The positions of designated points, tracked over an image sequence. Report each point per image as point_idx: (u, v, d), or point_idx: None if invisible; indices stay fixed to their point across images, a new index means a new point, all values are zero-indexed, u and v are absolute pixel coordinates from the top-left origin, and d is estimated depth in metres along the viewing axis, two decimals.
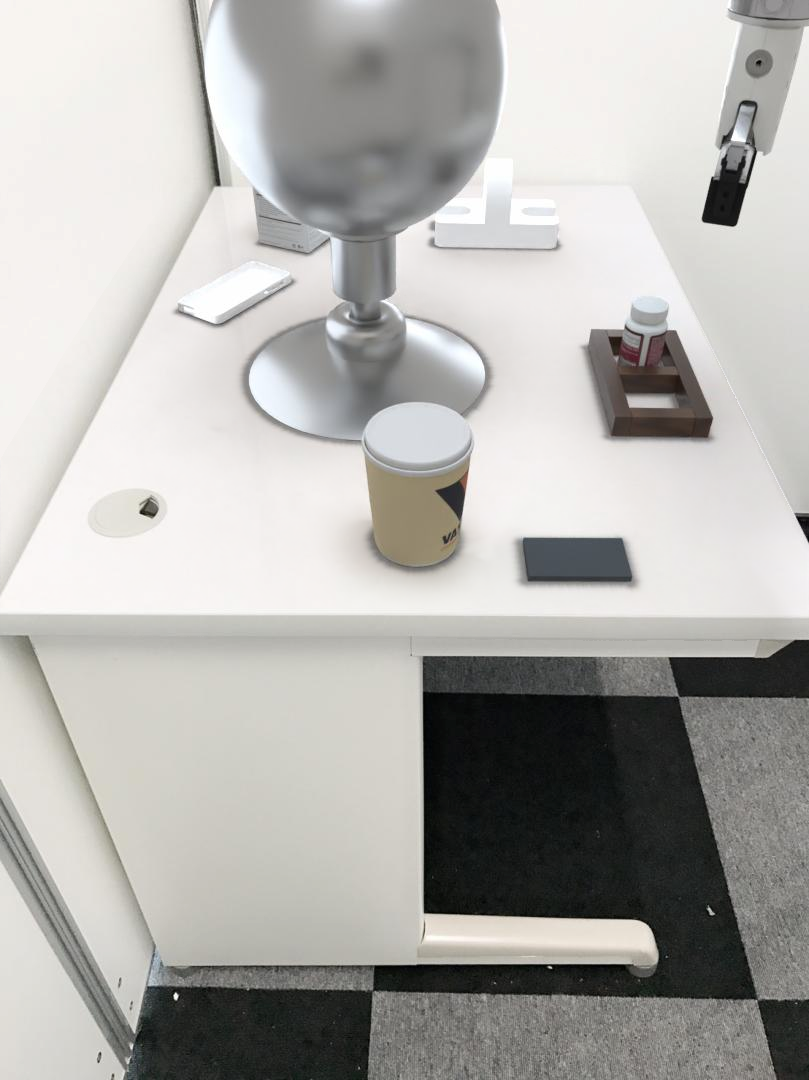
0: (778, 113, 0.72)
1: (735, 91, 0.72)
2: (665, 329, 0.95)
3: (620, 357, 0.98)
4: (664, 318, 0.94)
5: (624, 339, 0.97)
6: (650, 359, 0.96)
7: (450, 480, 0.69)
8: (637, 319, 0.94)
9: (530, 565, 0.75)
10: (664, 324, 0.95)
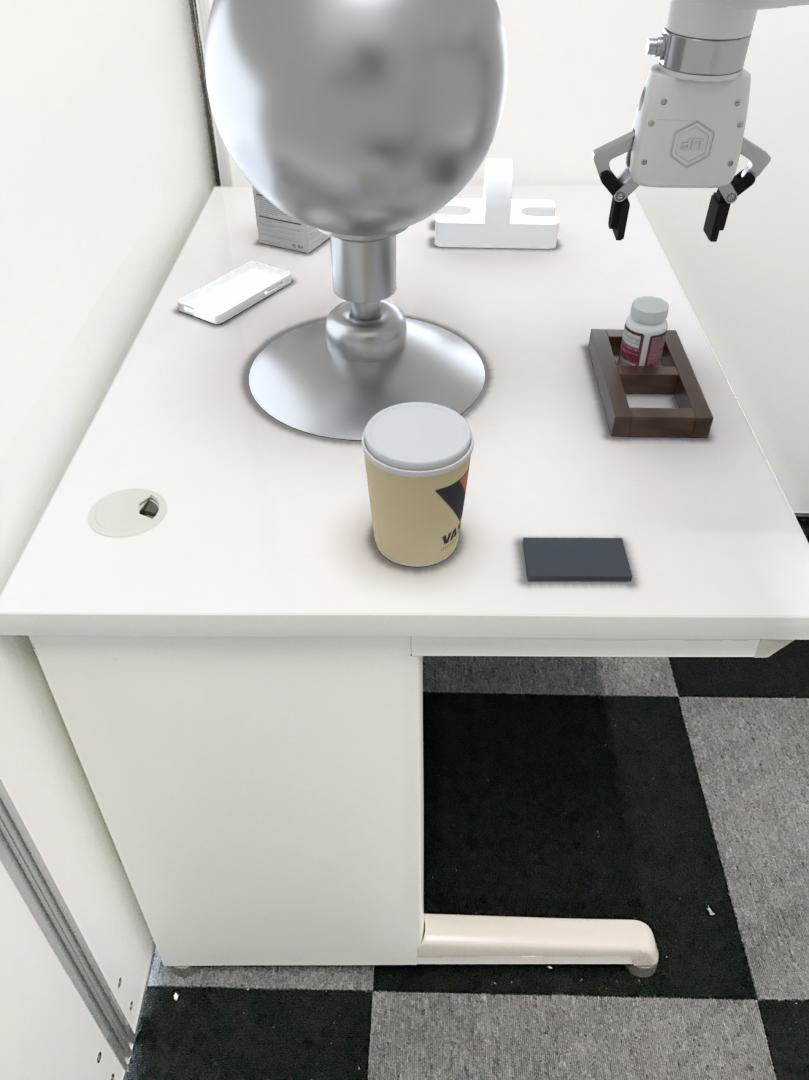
0: (641, 147, 0.81)
1: (634, 119, 0.83)
2: (665, 329, 0.95)
3: (620, 357, 0.98)
4: (664, 318, 0.94)
5: (624, 339, 0.97)
6: (650, 359, 0.96)
7: (450, 480, 0.69)
8: (637, 319, 0.94)
9: (530, 565, 0.75)
10: (664, 324, 0.95)
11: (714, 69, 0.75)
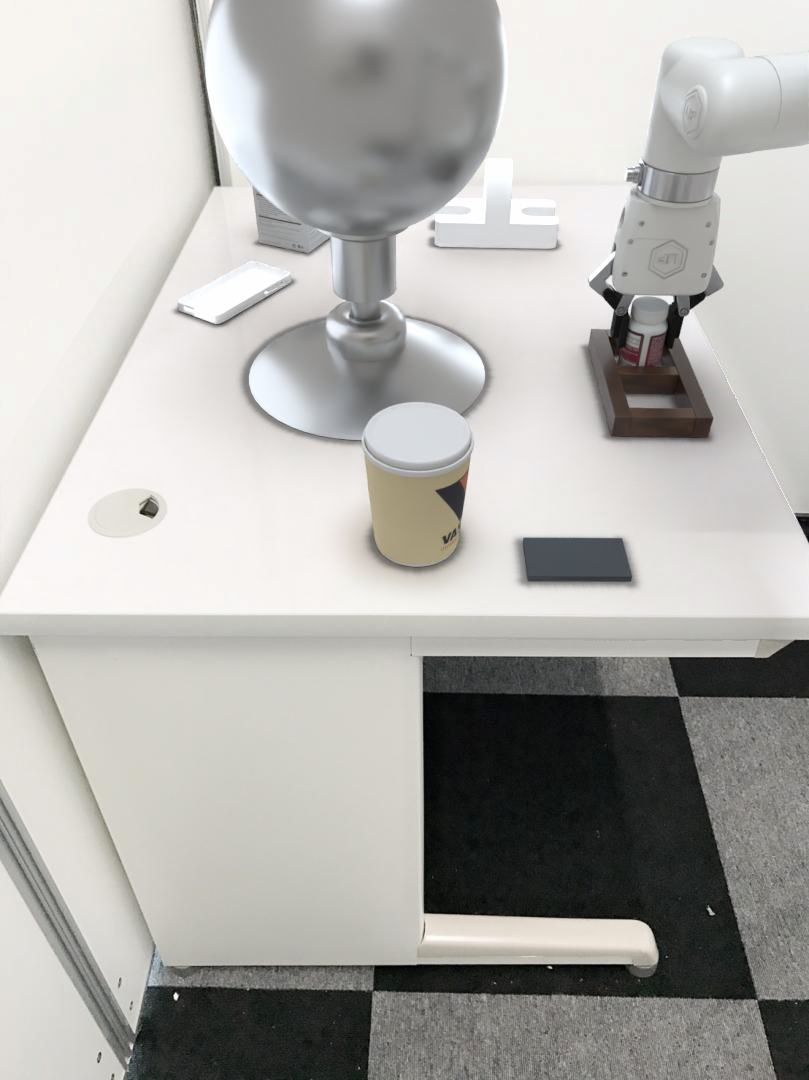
0: (622, 261, 0.88)
1: None
2: (665, 329, 0.95)
3: (620, 357, 0.98)
4: (664, 318, 0.94)
5: None
6: (650, 359, 0.96)
7: (450, 480, 0.69)
8: (637, 319, 0.94)
9: (530, 565, 0.75)
10: (664, 324, 0.95)
11: (686, 198, 0.83)
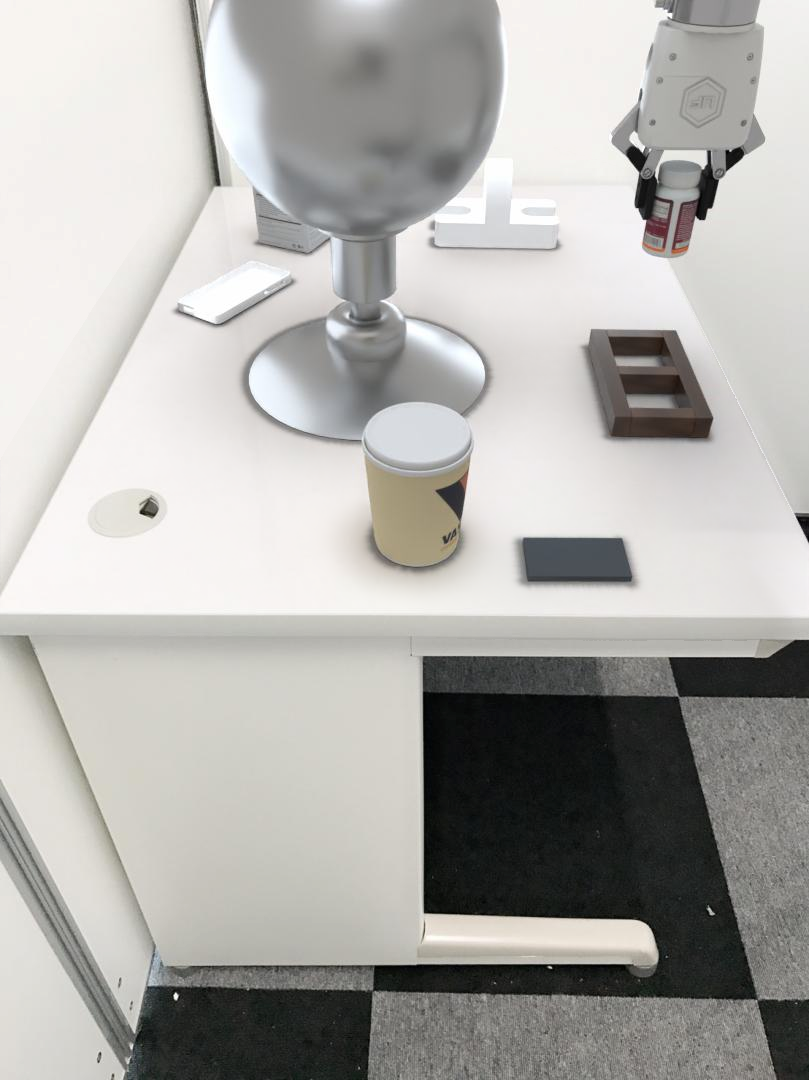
0: (649, 106, 0.77)
1: None
2: (697, 195, 0.83)
3: (645, 233, 0.87)
4: (696, 181, 0.82)
5: None
6: (679, 232, 0.85)
7: (450, 480, 0.69)
8: (666, 183, 0.83)
9: (530, 565, 0.75)
10: (696, 190, 0.83)
11: (725, 19, 0.71)
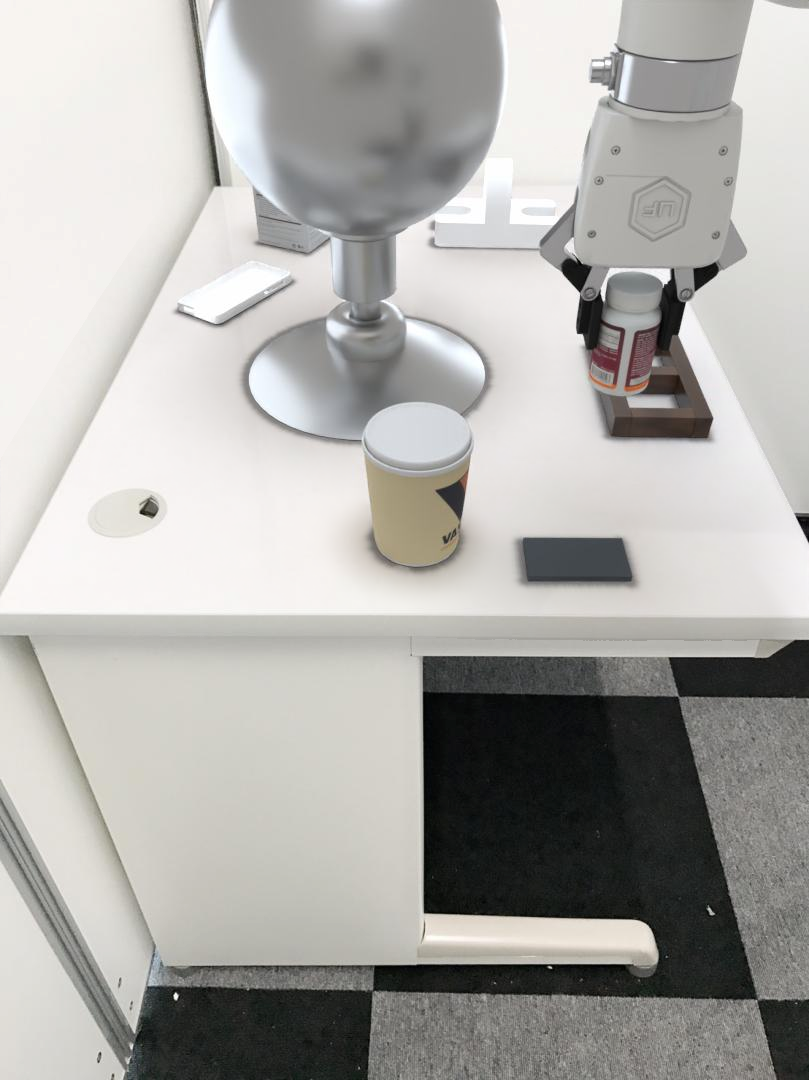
0: (586, 213, 0.56)
1: (579, 172, 0.58)
2: (658, 321, 0.63)
3: (592, 363, 0.66)
4: (656, 304, 0.62)
5: None
6: (635, 366, 0.64)
7: (450, 480, 0.69)
8: (615, 305, 0.62)
9: (530, 565, 0.75)
10: (656, 313, 0.63)
11: (687, 104, 0.51)
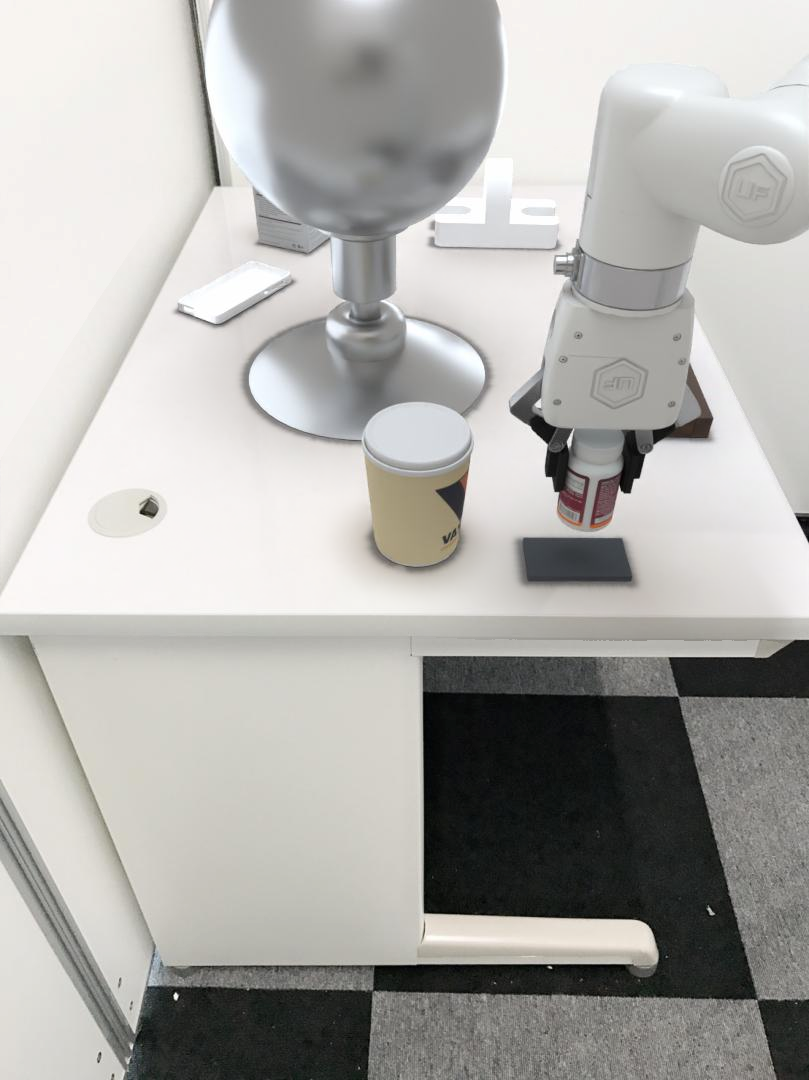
0: (552, 385, 0.61)
1: (546, 341, 0.63)
2: (620, 469, 0.67)
3: (559, 500, 0.71)
4: (618, 455, 0.66)
5: None
6: (599, 508, 0.69)
7: (450, 480, 0.69)
8: (580, 456, 0.66)
9: (530, 565, 0.75)
10: (618, 462, 0.67)
11: (642, 303, 0.55)
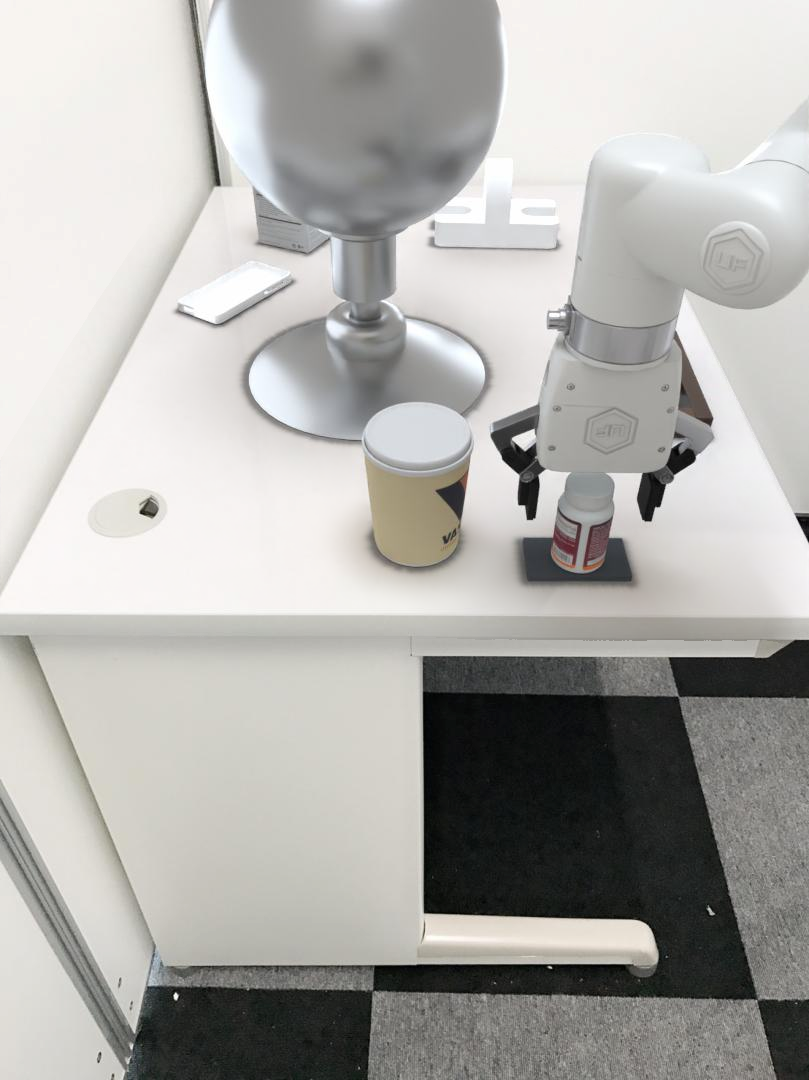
0: (547, 432, 0.64)
1: None
2: (610, 515, 0.70)
3: (553, 543, 0.74)
4: (608, 502, 0.70)
5: (557, 523, 0.72)
6: (591, 551, 0.72)
7: (450, 480, 0.69)
8: (572, 503, 0.70)
9: (530, 565, 0.75)
10: (609, 508, 0.70)
11: (631, 358, 0.58)
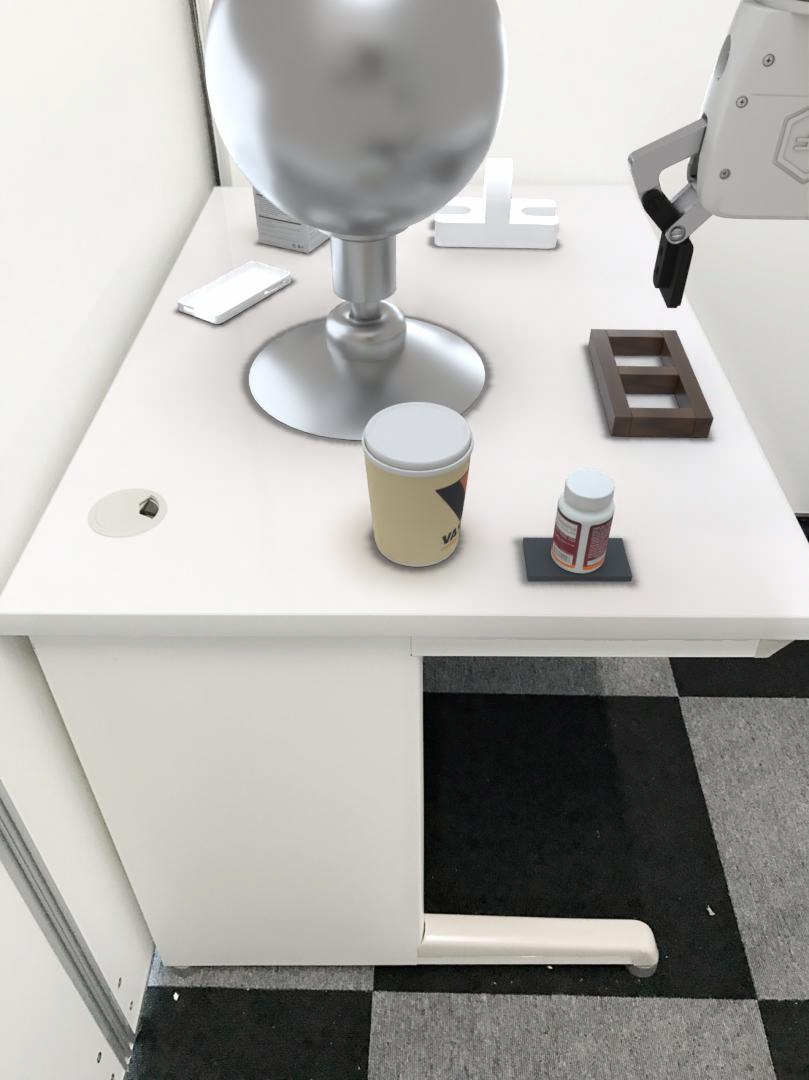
0: (721, 147, 0.44)
1: (705, 97, 0.46)
2: (610, 515, 0.70)
3: (553, 543, 0.74)
4: (608, 502, 0.70)
5: (557, 523, 0.72)
6: (591, 551, 0.72)
7: (450, 480, 0.69)
8: (572, 503, 0.70)
9: (530, 565, 0.75)
10: (609, 508, 0.70)
11: None
